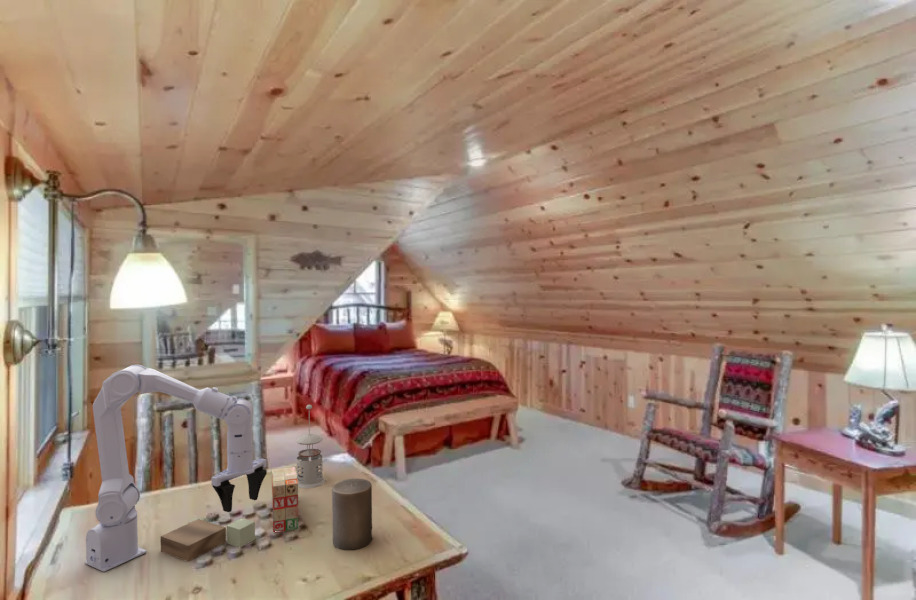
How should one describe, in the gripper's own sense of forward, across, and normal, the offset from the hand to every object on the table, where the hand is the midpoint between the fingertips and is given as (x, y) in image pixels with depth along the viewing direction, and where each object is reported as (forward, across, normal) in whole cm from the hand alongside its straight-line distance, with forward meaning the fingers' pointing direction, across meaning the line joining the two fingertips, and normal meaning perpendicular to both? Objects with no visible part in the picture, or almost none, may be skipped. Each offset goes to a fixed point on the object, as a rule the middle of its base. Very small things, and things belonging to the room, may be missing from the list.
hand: (240, 504), depth 125 cm
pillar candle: (+9, +13, -24) cm, 29 cm away
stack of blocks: (+9, +16, +2) cm, 19 cm away
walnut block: (+9, -7, +8) cm, 14 cm away
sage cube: (+9, 0, 0) cm, 9 cm away
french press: (+9, +37, +13) cm, 40 cm away
